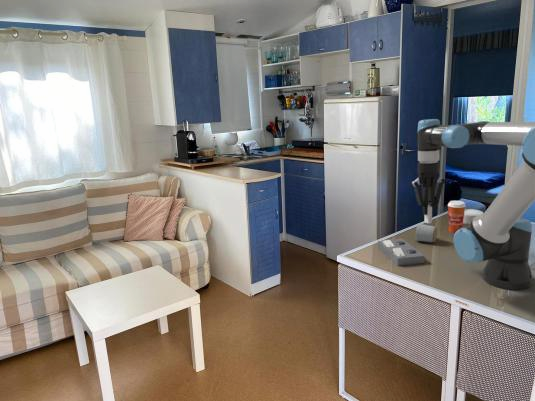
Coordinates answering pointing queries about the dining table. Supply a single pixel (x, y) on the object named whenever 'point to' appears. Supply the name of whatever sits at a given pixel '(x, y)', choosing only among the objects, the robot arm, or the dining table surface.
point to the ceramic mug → (426, 233)
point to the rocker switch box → (409, 251)
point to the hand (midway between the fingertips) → (428, 222)
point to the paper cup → (455, 215)
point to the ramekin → (470, 215)
